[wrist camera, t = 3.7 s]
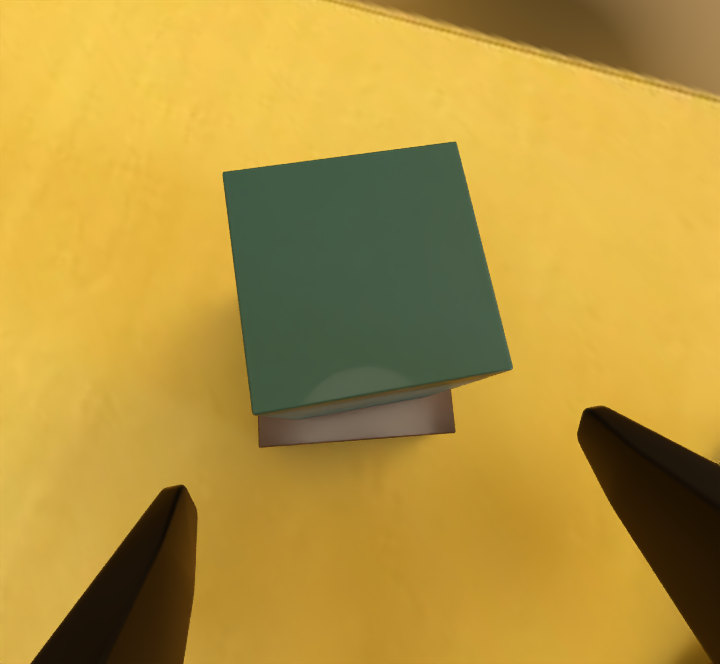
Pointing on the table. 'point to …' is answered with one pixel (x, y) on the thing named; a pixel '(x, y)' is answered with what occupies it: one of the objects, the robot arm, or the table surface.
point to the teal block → (361, 281)
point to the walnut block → (363, 423)
